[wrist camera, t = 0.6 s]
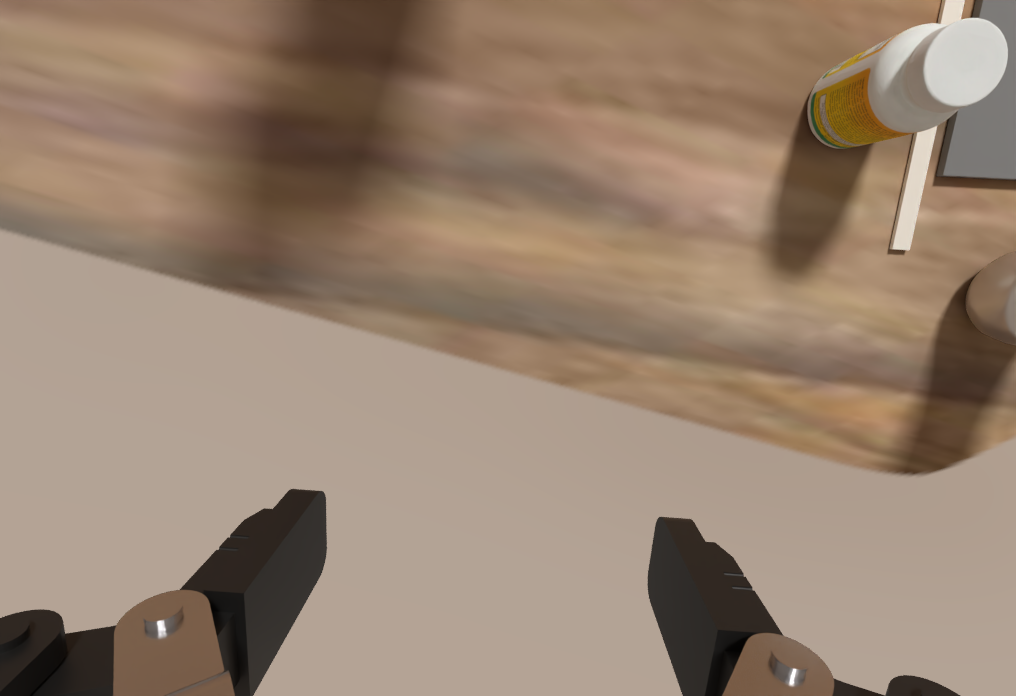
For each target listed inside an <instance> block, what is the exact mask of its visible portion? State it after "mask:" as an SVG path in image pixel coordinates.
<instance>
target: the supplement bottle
mask: <svg viewBox="0 0 1016 696" xmlns="http://www.w3.org/2000/svg"><path fill="white" fill-rule="evenodd" d="M1007 60H1008V47H1007V42H1006V40H1005V37H1004V35H1003V34H1002V32H1001V31H1000V29H999V28H998V27H997V26H996V25H994V24H993V23H991V22H990V21H987V20H985V19H980V18H967V19H962V20H959V21H956V22H954V23H952V24H949V25H945V24H937V23H931V24H923V25H919V26H916V27H913V28H910V29H908V30H906V31H904V32H902V33H899V34H897V35H895V36H893V37H891V38H890V39H888V40H886V41H884V42H882V43H880V44H878V45H876V46H874V47H872V48H870V49H868V50H866V51H864V52H862V53H860V54H858V55H856V56H854V57H852V58H850V59H848V60H846V61H844V62H843V63H841V64H839V65H837V66H835V67H833V68H832V69H830V70H829V71H828V72H826V73H825V74H824V75H823V76H822V77H821V78H820V79H819V81H818V82H817V83H816V85H815V86H814V88H813V90H812V92H811V95H810V97H809V101H808V109H807V113H808V122H809V125H810V128H811V131H812V133H813V134H814V135H815V137H816V138H817V139H818V140H819V141H820V142H822V143H823V144H825V145H827V146H829V147H832V148H837V149H846V148H852V147H857V146H862V145H866V144H870V143H874V142H879V141H883V140H887V139H892V138H896V137H900V136H905V135H908V134H913V133H917V132H922V131H925V130H928V129H931V128H933V127H935V126H937V125H939V124H941V123H943V122H944V121H946V120H947V119H949V118H950V117H951V116H952V115H953V114H955V113H956V112H957V111H958V109H960V108H963V107H967V106H969V105H972V104H974V103H977V102H978V101H980V100H982V99H983V98H985V97H986V96H987V95H988V94H989V93H991V92H992V91H993V89H994V88H995V87H996V86H997V85H998V83H999V82H1000V80H1001V78H1002V76H1003V74H1004V72H1005V69H1006V66H1007Z"/></svg>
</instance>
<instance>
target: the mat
mask: <svg viewBox="0 0 1016 696" xmlns="http://www.w3.org/2000/svg"><path fill="white" fill-rule="evenodd" d="M972 18H980V19H985V20H987V21H990V22H991V23H993V24H994V25H996V26H997V27H998V28H999V29H1000V31H1001V32H1002V34H1003V35H1004V37H1005V40H1006V42H1007V47H1008V60H1007V66H1006V69H1005V72H1004V74H1003V76H1002V78H1001V80H1000V82H999V83H998V85H997V86H996V87H995V88H994V89H993V91H992V92H991V93H989V94H988V95H987V96H986V97H985V98H983V99H982V100H980V101H978V102H977V103H974V104H972V105H969V106H967V107H963V108H960V109H958V111H957V112H956V113H955V114H953V115H952V116H951V117H950V118H949V121H948V126H947V130H946V135H945V139H944V144H943V148H942V152H941V157H940V161H939V166H938V170H937V175H936V176H941V177H961V178H981V179H1000V180H1016V0H976V2H975V6H974V11H973V15H972Z"/></svg>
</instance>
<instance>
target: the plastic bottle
mask: <svg viewBox="0 0 1016 696" xmlns="http://www.w3.org/2000/svg"><path fill="white" fill-rule="evenodd" d="M965 304H966V311H967V313H968V316H969V318H970V320H971V322H972V323H973V324H974V326H975V327H976V328H977V329H978V330H979V331H980V332H981V333H983V334H985V335H987V336H989V337H992V338H994V339H996V340H999V341H1001V342H1003V343H1007V344H1011V345H1016V252H1012V253H1009V254H1006V255H1003V256H1002V257H1000V258H998V259H996V260H994V261H993V262H991V263H990V264H989V265H987V266H986V267H984V268H983V269H982V270H981V271H980V272H979V273H978V274H977V275H976V276H975V278H974V279H973V280H972V282H971V284H970V286H969V288H968V291H967V294H966V303H965Z"/></svg>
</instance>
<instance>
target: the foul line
mask: <svg viewBox="0 0 1016 696" xmlns="http://www.w3.org/2000/svg"><path fill="white" fill-rule="evenodd" d="M964 2H965V0H942V4H941V9H940V13H939V18H938V23H937V24H945V25H949V24H952V23H954V22H956V21H959V20H961V16H962V11H963V7H964ZM936 129H937V126H935V127H933V128H931V129H928V130H925V131H922V132H917V133H914V136H913V140H912V145H911V150H910V154H909V159H908V164H907V168H906V173H905V178H904V183H903V187H902V192H901V197H900V201H899V206H898V211H897V215H896V220H895V225H894V230H893V234H892V239H891V244H890V248H889V249H897V250H910V246H911V242H912V237H913V233H914V228H915V224H916V219H917V215H918V210H919V206H920V201H921V197H922V192H923V188H924V183H925V179H926V174H927V169H928V165H929V160H930V156H931V151H932V147H933V142H934V138H935V133H936Z"/></svg>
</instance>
